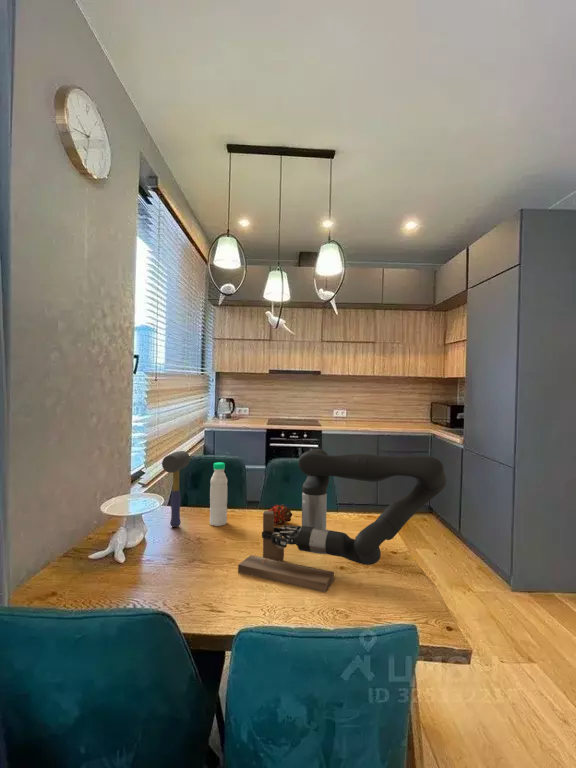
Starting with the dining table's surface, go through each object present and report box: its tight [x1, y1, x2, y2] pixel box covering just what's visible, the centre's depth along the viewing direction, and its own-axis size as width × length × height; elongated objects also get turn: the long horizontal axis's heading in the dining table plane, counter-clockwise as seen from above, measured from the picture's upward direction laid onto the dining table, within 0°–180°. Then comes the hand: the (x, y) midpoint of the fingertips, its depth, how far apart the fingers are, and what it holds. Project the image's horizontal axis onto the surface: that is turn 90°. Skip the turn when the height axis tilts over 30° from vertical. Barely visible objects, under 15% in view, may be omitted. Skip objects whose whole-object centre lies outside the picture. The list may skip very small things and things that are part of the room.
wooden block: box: [262, 510, 285, 562], centre depth 135 cm, size 7×3×15 cm, turn 86°
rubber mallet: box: [161, 450, 191, 528], centre depth 165 cm, size 12×8×30 cm, turn 170°
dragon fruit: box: [267, 503, 293, 526], centre depth 172 cm, size 8×8×12 cm
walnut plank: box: [237, 554, 335, 593], centre depth 124 cm, size 8×28×3 cm, turn 66°
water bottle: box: [209, 461, 228, 527], centre depth 170 cm, size 7×7×25 cm
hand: (265, 532), depth 136 cm, fingers closed on wooden block, 4 cm apart
